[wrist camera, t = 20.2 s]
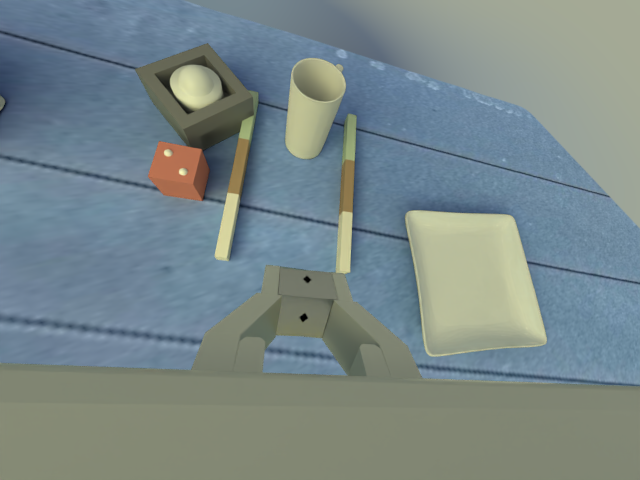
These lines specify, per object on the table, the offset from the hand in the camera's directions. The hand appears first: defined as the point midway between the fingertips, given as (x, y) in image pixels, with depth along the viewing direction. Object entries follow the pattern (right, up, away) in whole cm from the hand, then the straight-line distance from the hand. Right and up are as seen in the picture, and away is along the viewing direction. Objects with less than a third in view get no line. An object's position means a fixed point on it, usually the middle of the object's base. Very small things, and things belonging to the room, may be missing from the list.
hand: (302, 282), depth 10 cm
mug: (-1, +19, +32) cm, 37 cm away
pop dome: (-16, +22, +26) cm, 38 cm away
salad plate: (+24, -5, +32) cm, 40 cm away
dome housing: (-17, +21, +29) cm, 40 cm away
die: (-18, +10, +26) cm, 33 cm away
